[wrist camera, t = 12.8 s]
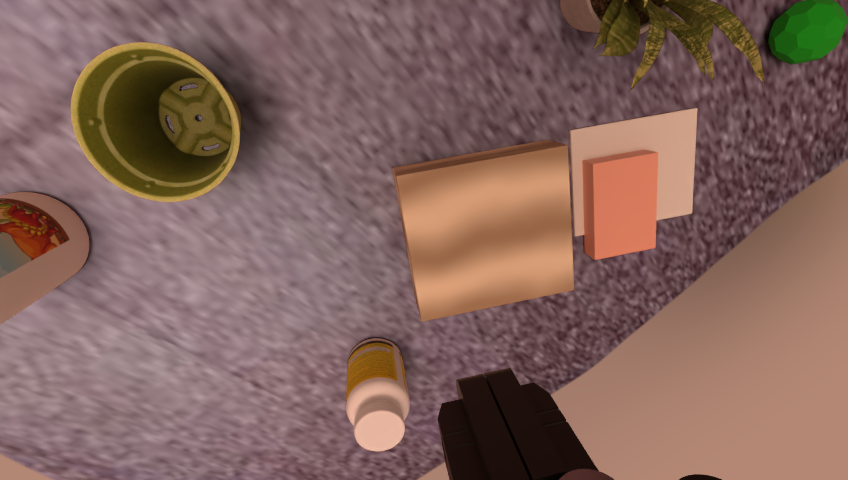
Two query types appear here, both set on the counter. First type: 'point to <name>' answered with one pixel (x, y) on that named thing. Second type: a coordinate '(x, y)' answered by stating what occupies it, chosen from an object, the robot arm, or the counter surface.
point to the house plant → (659, 28)
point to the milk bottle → (36, 248)
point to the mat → (651, 133)
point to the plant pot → (155, 122)
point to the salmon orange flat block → (620, 203)
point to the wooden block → (487, 227)
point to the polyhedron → (807, 31)
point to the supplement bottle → (377, 394)
